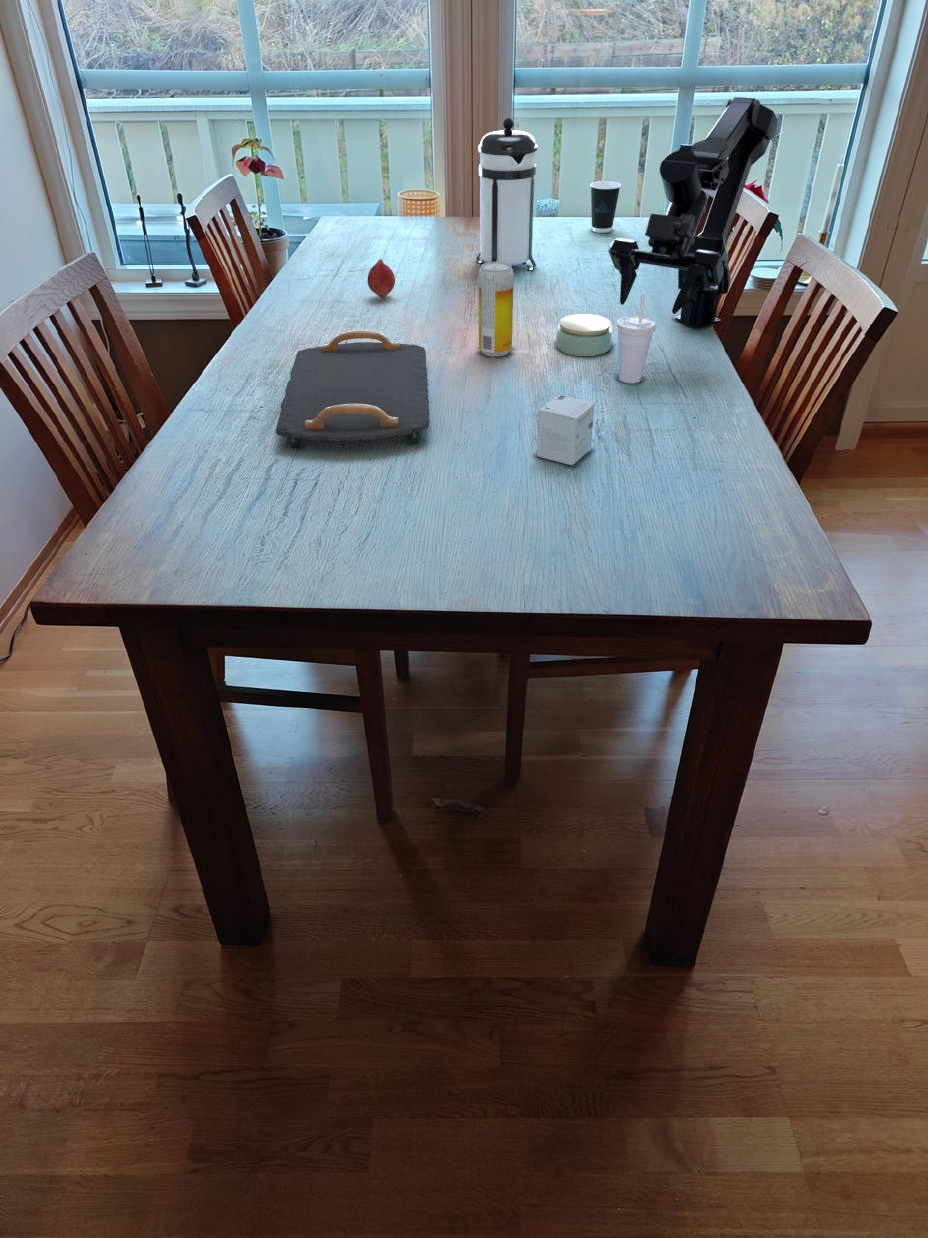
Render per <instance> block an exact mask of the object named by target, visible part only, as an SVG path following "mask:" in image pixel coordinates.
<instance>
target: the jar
mask: <svg viewBox="0 0 928 1238" xmlns="http://www.w3.org/2000/svg"><path fill="white" fill-rule="evenodd" d="M612 337H613V328H612V325H611V321H610V320H609V319H608V318H606V317H603V316H601V315H596V314H588V313H579V314H571V315H568V316H565V317H563V318H561V319H560V320H559V324H558V325H557V329H556V343H555V346H556V348H557V349H558V350H559V351H560V352H562V353H564V354H566V355H570V356H576V357H595V356H600V355H604V354H606V353H607V352H609V351H610V350H611V348H612Z"/></svg>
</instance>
